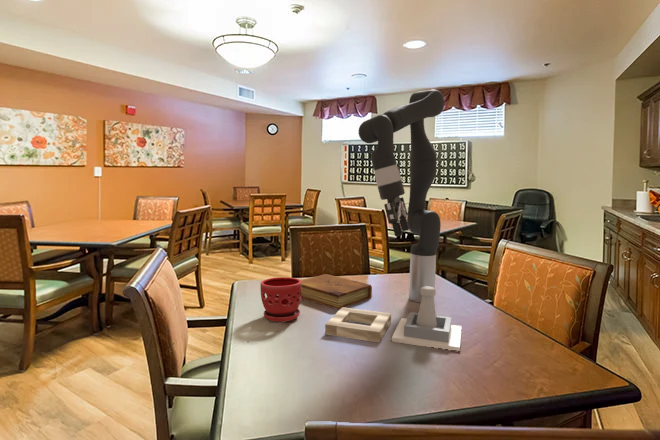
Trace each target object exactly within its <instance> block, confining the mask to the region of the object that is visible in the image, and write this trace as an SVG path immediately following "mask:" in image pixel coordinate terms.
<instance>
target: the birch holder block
mask: <svg viewBox="0 0 660 440" xmlns="http://www.w3.org/2000/svg"><path fill="white" fill-rule="evenodd" d="M391 321H392V313H390V312H382V311H374V310H368V309H367V310H365V309H360V308H359V309H358V308H350V307H342V308H341V309H339V310H338V311H337V312H336V313H335V314H334V315H333V316H332V317H330V319H329V320H328V321H327V322H326V323H325V324H324V334H325V335H328V336H332V337H333V336H334V337H341V338H347V339H348V338H349V339H354V340H360V341H367V342H371V343H372V342H373V343H380V342H381V341H382V339H383V338H384V335H385V333H386V332H387V330H388V328H389V327H390V325H391V324H392V323H391ZM352 322H353V323H352ZM358 323H359V324H358Z"/></svg>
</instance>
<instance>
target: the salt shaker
mask: <svg viewBox="0 0 660 440" xmlns="http://www.w3.org/2000/svg"><path fill="white" fill-rule="evenodd" d="M436 293H437V292H436V288H435V289H434V288H433V287H430V286H424V287H422V288H421V290H420V294H421V295H422V300H421V302H420V305H419V310H418V312H417V313H418V317H417V321H416V323H417V326H423V327H431V328H436V327H437V321H436V314H437V313H436V308H435V306H436V305H435V296H436ZM433 297H434V299H433Z"/></svg>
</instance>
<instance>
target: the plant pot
mask: <svg viewBox="0 0 660 440" xmlns="http://www.w3.org/2000/svg"><path fill="white" fill-rule="evenodd" d="M301 280H302V279H299V278H296V277H290V276H289V277H280V276H279V277H270V278H266V279H264V280H262V281H261V282H260V296H261V297H260V298H261V302H262V306H263V307H264V311H263V316H264V318H266V319H267V320H269V321H271V322H276V323H282V322H283V323H285V322H292V321H293V320H295V319H297V318H298V317H299V316H300V314H301V309H299V307H300V304H301V301H302V298H301V295H302V282H301Z"/></svg>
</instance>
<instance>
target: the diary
mask: <svg viewBox="0 0 660 440" xmlns="http://www.w3.org/2000/svg"><path fill="white" fill-rule="evenodd" d="M300 280H301V282H302V295H301V299H304V300H308V301H310V302H314V303H317V304H320V305H324V306H326V307H329V308H333V309H335V310H338V311H339V310H340V309H341V308H342V307H344V308H348V307H349V306H352V305H354V304H355V305H356V304H358V303H361V302H364V301H366V300H367V301H368V300H370V299H372V297H373V295H372V294H373V287H372V284H369V283H364V282H360V281H355V280H353V279H352V280H351V279H348V278H344V277H339V276H336V275H332V274H328V273H324V274H319V275H316V276H313V277H308V278H304V279H300Z"/></svg>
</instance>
